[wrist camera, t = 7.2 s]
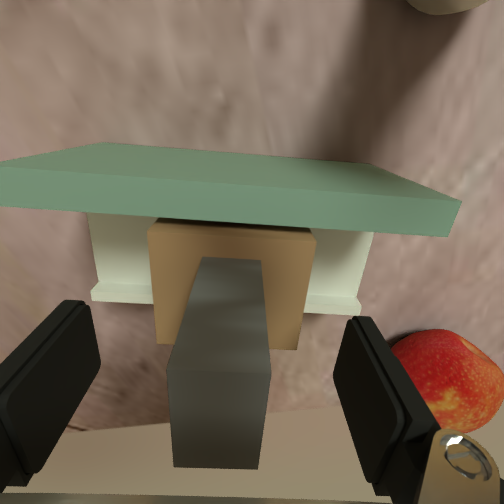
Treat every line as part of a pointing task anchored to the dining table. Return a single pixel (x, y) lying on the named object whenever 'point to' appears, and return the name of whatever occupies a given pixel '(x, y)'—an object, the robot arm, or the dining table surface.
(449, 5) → the plastic bottle
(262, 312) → the tan grey tall block
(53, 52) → the dining table surface
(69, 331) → the robot arm
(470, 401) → the apple
